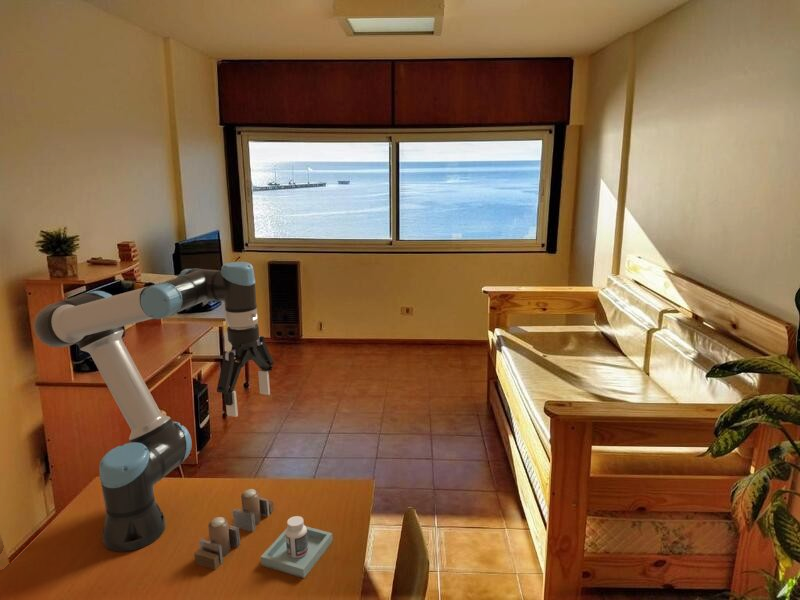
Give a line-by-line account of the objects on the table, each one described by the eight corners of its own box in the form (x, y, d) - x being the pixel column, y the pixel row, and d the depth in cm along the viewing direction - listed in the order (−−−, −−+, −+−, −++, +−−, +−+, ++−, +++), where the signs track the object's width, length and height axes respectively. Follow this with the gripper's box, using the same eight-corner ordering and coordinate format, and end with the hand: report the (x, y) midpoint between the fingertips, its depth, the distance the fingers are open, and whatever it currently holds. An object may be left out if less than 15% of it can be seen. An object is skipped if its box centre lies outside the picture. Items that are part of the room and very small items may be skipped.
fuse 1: (207, 554, 144) (204, 524, 142) (219, 543, 148) (216, 513, 146) (222, 559, 142) (219, 528, 140) (234, 547, 147) (231, 517, 144)
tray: (261, 565, 140) (260, 556, 140) (292, 530, 153) (292, 522, 152) (304, 578, 136) (303, 569, 135) (332, 541, 148) (332, 533, 148)
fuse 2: (239, 523, 156) (237, 495, 153) (250, 514, 160) (247, 486, 158) (254, 527, 154) (251, 499, 152) (264, 517, 158) (261, 489, 156)
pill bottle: (311, 545, 146) (309, 515, 144) (303, 560, 141) (301, 529, 139) (291, 543, 147) (289, 513, 145) (283, 557, 142) (281, 526, 140)
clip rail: (195, 563, 141) (193, 546, 140) (256, 506, 163) (254, 490, 162) (215, 569, 139) (213, 552, 138) (273, 510, 161) (272, 495, 160)
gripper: (222, 342, 129) (230, 428, 135) (283, 313, 152) (288, 387, 157) (195, 339, 132) (204, 423, 138) (259, 310, 154) (265, 383, 160)
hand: (249, 404), depth 148 cm, fingers open, 13 cm apart
